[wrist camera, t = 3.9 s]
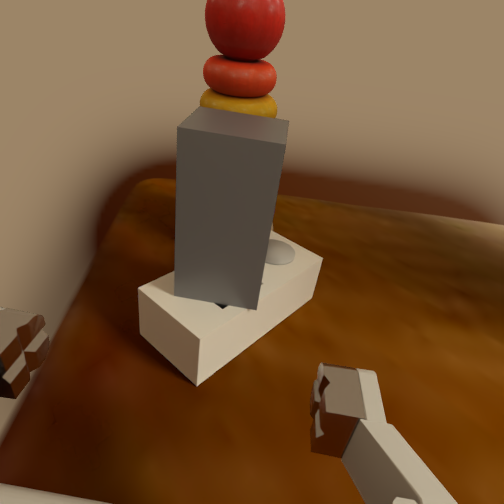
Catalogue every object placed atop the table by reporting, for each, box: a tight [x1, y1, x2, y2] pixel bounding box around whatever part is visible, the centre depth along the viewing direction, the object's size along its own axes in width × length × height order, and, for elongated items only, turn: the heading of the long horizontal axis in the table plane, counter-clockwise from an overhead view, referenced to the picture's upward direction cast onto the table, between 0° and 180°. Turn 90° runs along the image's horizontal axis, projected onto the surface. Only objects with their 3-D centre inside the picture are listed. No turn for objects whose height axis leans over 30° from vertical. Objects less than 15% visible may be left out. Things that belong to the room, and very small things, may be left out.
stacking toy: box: [200, 0, 285, 231], centre depth 28 cm, size 8×8×19 cm
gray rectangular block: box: [174, 106, 289, 310], centre depth 20 cm, size 4×4×11 cm
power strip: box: [138, 230, 323, 386], centre depth 24 cm, size 11×5×4 cm, turn 138°
